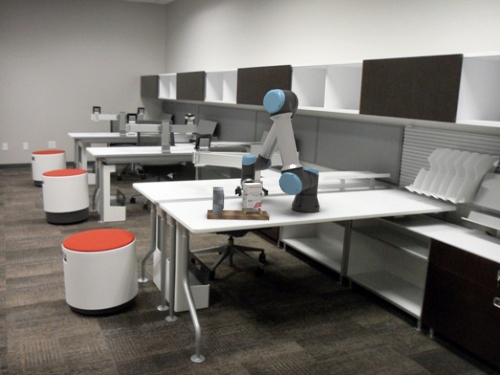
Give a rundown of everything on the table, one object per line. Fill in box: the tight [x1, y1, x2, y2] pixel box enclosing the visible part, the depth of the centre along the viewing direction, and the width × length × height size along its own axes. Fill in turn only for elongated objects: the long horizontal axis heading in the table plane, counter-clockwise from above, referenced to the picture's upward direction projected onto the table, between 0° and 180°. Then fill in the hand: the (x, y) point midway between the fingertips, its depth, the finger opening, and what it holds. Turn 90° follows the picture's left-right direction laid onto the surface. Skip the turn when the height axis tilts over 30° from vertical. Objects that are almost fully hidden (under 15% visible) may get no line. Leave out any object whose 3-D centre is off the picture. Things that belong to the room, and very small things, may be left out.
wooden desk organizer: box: [206, 186, 270, 221], centre depth 234 cm, size 30×11×14 cm, turn 95°
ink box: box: [241, 182, 263, 209], centre depth 235 cm, size 9×5×12 cm, turn 118°
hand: (253, 195), depth 230 cm, fingers closed on ink box, 9 cm apart
